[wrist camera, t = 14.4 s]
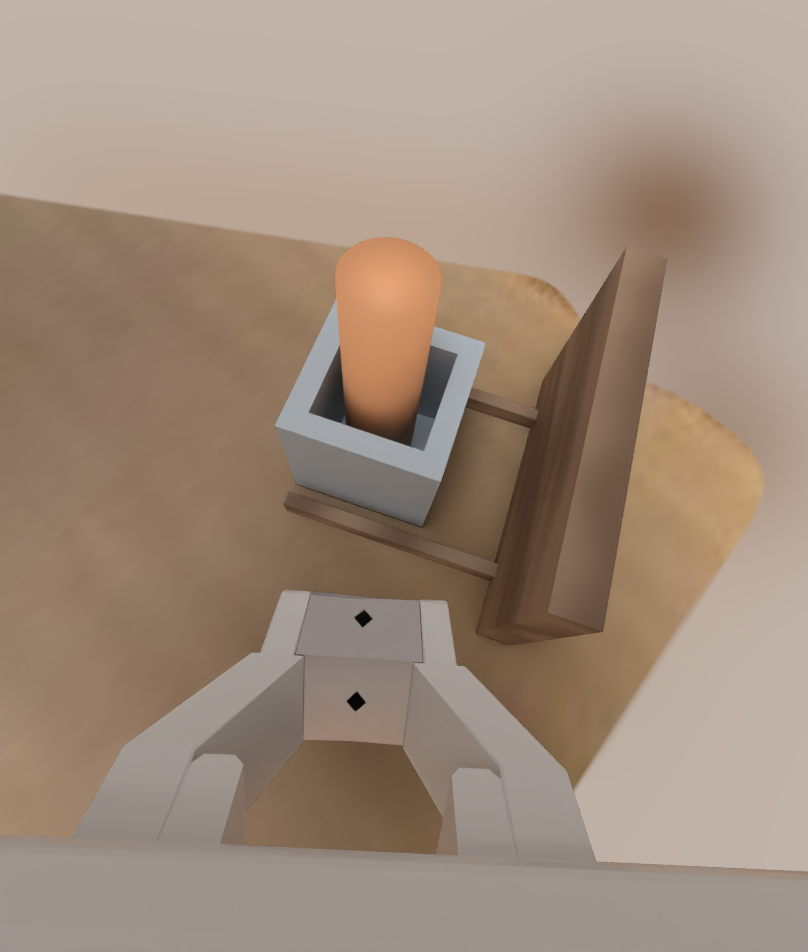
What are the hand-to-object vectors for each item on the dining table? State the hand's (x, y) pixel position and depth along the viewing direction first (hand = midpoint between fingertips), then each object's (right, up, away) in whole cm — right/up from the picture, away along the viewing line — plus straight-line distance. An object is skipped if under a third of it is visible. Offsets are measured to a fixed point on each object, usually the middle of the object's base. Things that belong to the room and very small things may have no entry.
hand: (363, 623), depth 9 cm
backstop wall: (+3, +3, +23) cm, 23 cm away
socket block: (-1, +4, +23) cm, 23 cm away
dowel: (-1, +5, +22) cm, 23 cm away
